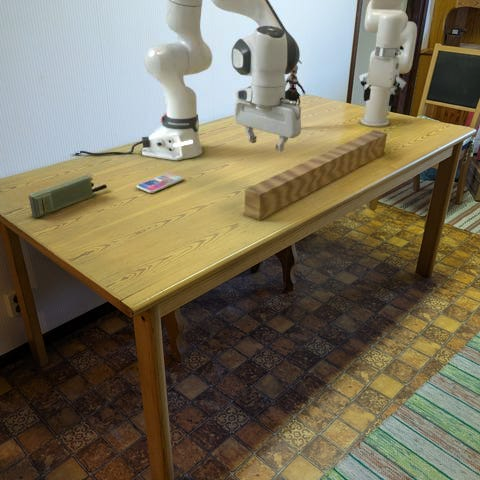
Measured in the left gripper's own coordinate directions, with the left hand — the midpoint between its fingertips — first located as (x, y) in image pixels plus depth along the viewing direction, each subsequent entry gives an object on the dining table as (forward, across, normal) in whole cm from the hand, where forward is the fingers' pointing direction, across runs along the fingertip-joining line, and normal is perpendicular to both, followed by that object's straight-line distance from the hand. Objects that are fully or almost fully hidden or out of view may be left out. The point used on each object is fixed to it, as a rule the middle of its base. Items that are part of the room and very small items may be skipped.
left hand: (265, 146), depth 138 cm
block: (+20, 0, -33) cm, 38 cm away
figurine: (+20, +42, -71) cm, 86 cm away
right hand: (0, 0, -65) cm, 65 cm away
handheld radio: (+20, +46, +34) cm, 60 cm away
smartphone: (+20, +37, +7) cm, 43 cm away
